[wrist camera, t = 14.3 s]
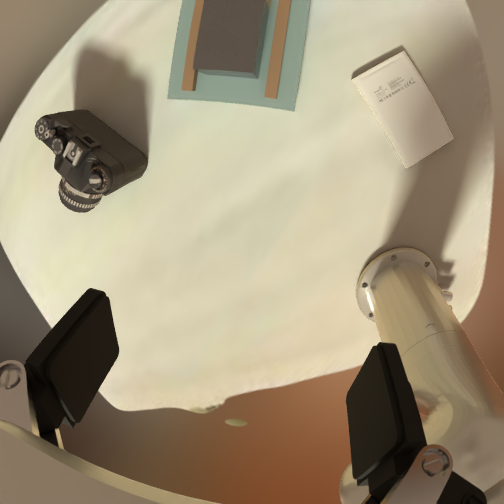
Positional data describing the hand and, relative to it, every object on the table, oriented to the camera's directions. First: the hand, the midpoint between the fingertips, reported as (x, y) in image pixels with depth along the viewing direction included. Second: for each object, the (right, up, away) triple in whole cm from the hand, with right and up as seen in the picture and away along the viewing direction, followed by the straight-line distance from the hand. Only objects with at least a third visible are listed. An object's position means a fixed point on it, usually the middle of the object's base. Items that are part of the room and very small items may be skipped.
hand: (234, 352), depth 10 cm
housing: (-1, +26, +16) cm, 31 cm away
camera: (-20, +16, +27) cm, 38 cm away
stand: (0, +28, +18) cm, 33 cm away
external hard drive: (+19, +21, +20) cm, 34 cm away
